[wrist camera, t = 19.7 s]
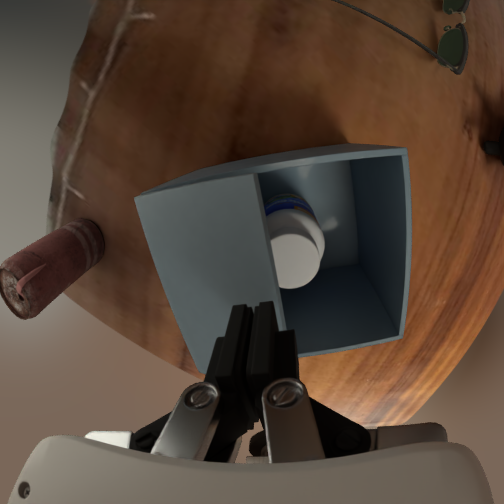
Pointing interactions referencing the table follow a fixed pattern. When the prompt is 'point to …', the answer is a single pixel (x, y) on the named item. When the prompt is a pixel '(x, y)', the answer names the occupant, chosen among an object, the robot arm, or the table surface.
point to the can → (49, 267)
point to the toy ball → (495, 147)
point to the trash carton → (341, 239)
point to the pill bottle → (294, 239)
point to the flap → (211, 255)
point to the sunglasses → (450, 44)
